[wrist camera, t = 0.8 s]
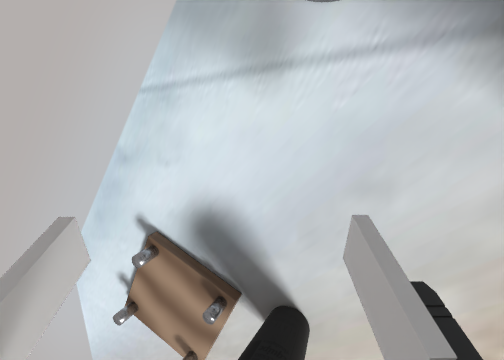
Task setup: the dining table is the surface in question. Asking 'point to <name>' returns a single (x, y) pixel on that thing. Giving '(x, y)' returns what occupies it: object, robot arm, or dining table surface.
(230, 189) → the dining table surface
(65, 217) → the robot arm
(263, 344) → the drinking cup
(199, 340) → the peg board
